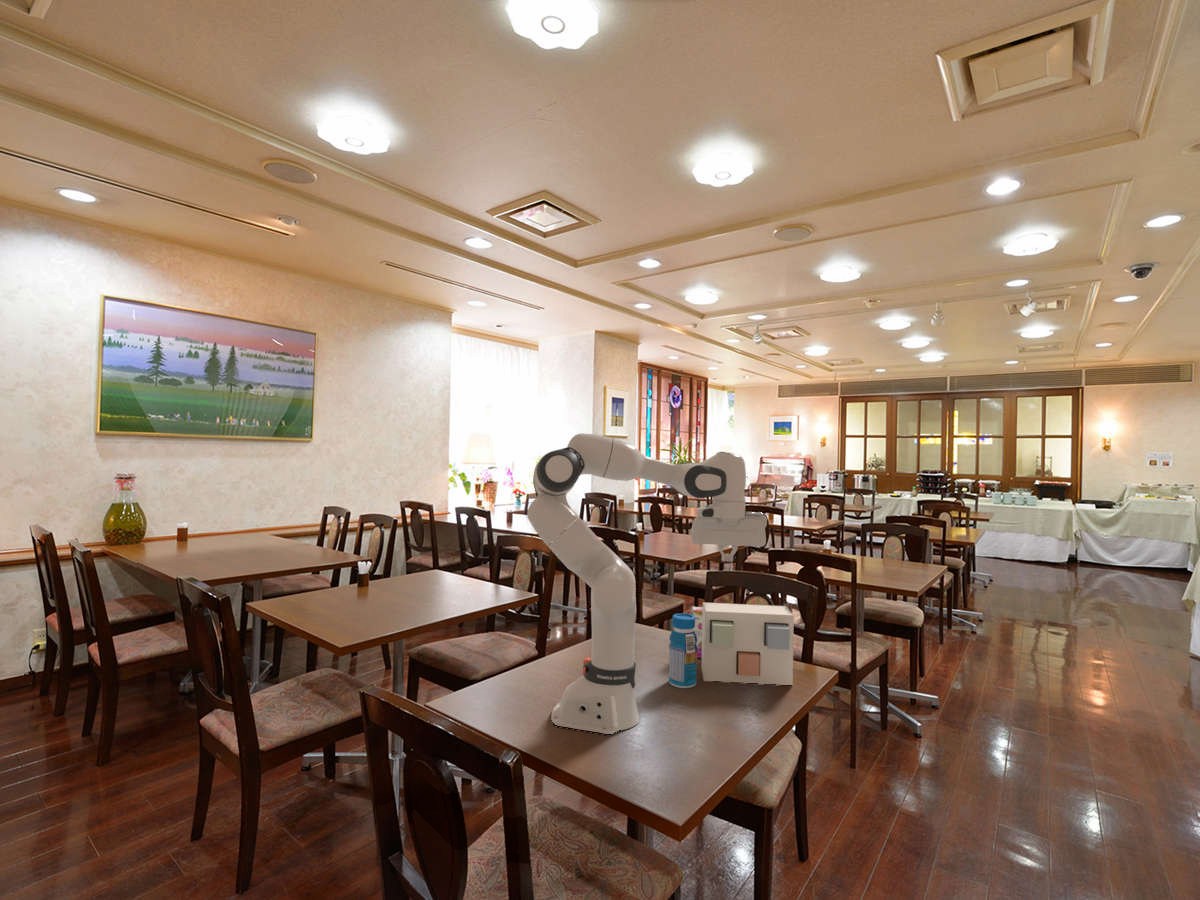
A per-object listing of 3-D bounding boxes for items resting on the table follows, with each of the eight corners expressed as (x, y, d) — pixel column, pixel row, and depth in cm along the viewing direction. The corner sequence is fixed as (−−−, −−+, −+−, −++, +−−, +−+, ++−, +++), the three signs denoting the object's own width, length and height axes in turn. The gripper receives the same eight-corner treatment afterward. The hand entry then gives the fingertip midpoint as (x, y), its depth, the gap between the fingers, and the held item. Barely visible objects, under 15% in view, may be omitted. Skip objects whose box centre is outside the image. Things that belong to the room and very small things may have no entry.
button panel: (703, 680, 176) (705, 611, 176) (701, 668, 186) (702, 602, 186) (792, 686, 173) (793, 615, 173) (785, 673, 183) (786, 606, 184)
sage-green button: (712, 645, 172) (712, 625, 172) (710, 639, 178) (711, 619, 178) (733, 646, 171) (733, 626, 171) (730, 640, 177) (731, 620, 177)
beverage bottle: (666, 687, 170) (667, 618, 170) (670, 676, 179) (671, 611, 179) (695, 690, 168) (697, 621, 168) (697, 679, 176) (699, 613, 177)
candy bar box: (690, 659, 194) (691, 610, 195) (689, 654, 199) (690, 606, 200) (724, 661, 193) (725, 611, 193) (722, 655, 198) (723, 607, 198)
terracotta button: (738, 674, 173) (738, 654, 173) (735, 667, 179) (736, 648, 179) (759, 676, 172) (759, 655, 173) (755, 668, 178) (756, 649, 178)
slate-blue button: (768, 648, 170) (768, 628, 170) (764, 642, 176) (764, 622, 176) (789, 649, 169) (789, 629, 169) (784, 643, 175) (785, 623, 175)
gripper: (765, 511, 163) (763, 560, 163) (691, 508, 165) (689, 557, 165) (769, 513, 157) (767, 565, 156) (692, 510, 159) (690, 561, 159)
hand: (727, 561), depth 161 cm, fingers closed
